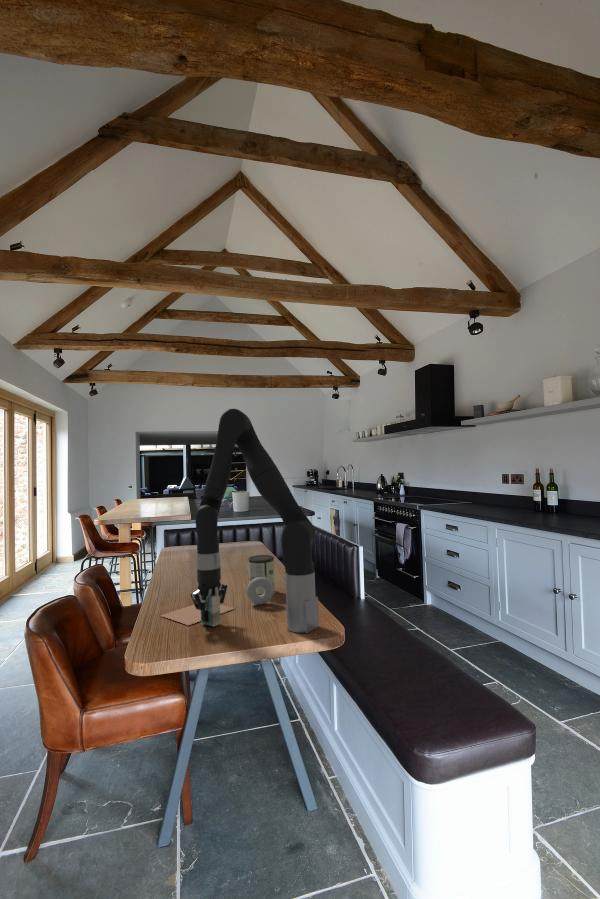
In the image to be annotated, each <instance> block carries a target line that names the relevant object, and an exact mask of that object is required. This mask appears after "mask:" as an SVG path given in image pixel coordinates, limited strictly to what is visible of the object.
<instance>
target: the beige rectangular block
mask: <svg viewBox="0 0 600 899" xmlns="http://www.w3.org/2000/svg"><path fill="white" fill-rule="evenodd" d="M200 598H201V595H200ZM203 599H204V598H203ZM220 599H221V598H220V595H213V596H211V597H210V598H209V603H208V618H209V621H208V622H203V620H202V615H201V622H200V623H201V624H204V625H207V626H211V627H216V626H218V625H221V624H222V622H221V615H220ZM204 600H206V599H204ZM204 606H205V603H204Z"/></svg>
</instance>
